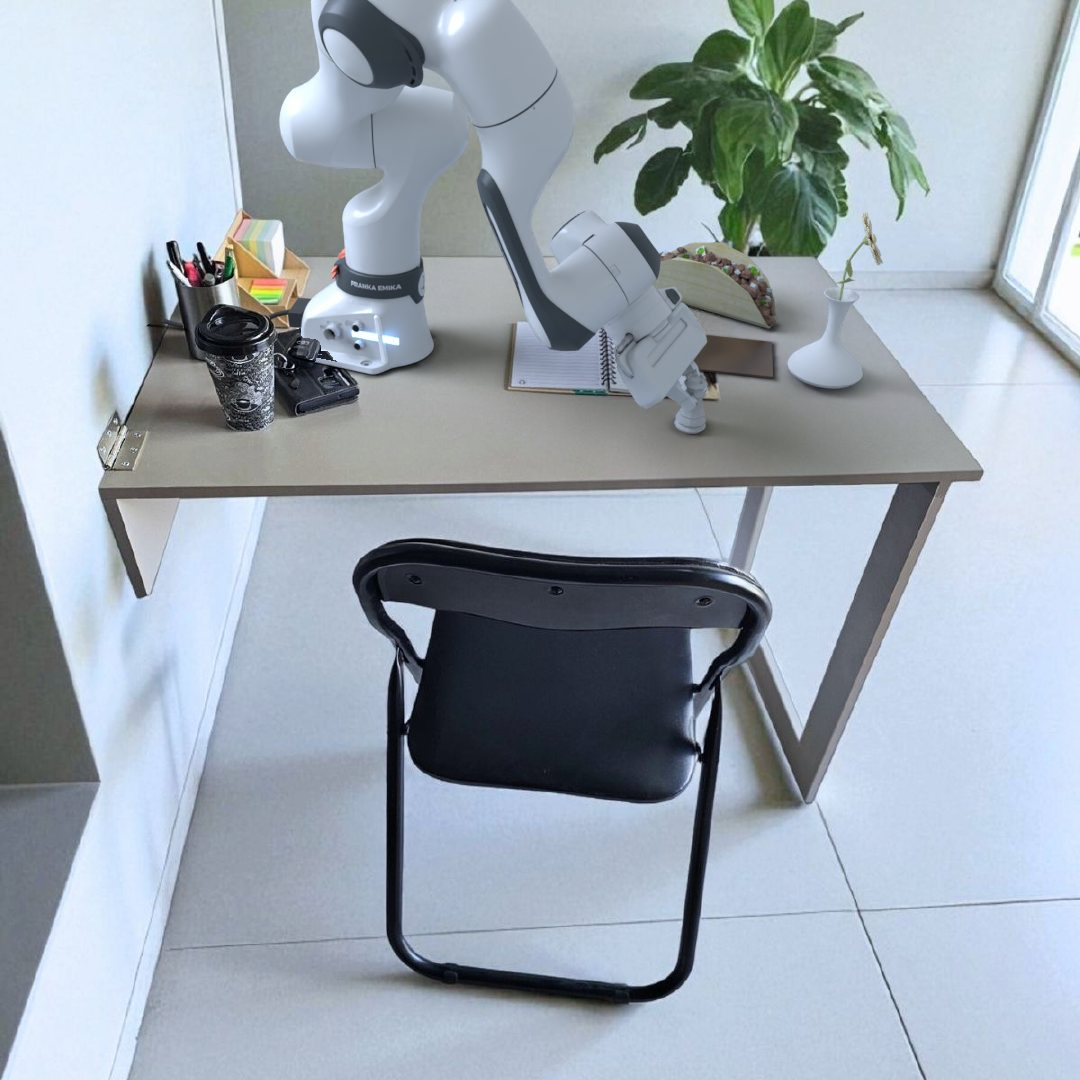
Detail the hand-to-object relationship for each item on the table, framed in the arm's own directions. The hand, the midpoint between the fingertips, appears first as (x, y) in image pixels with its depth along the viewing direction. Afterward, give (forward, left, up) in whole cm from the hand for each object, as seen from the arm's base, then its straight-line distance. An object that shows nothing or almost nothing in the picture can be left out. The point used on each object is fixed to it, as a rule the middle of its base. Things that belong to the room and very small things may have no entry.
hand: (697, 401), depth 145 cm
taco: (0, +40, -5) cm, 41 cm away
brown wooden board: (0, +23, -4) cm, 24 cm away
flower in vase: (+19, +20, -5) cm, 28 cm away
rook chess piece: (-1, 0, -5) cm, 5 cm away
